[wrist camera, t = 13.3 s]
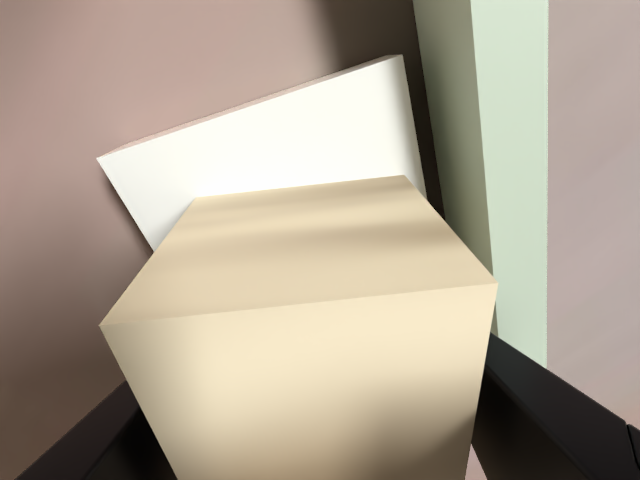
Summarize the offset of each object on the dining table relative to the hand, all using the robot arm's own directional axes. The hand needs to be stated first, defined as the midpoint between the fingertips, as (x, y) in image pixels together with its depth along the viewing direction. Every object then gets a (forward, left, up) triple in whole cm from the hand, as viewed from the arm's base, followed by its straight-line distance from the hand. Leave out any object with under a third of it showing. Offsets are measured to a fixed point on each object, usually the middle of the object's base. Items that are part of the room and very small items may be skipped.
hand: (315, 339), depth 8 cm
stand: (0, 0, -4) cm, 4 cm away
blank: (+1, 0, -2) cm, 2 cm away
